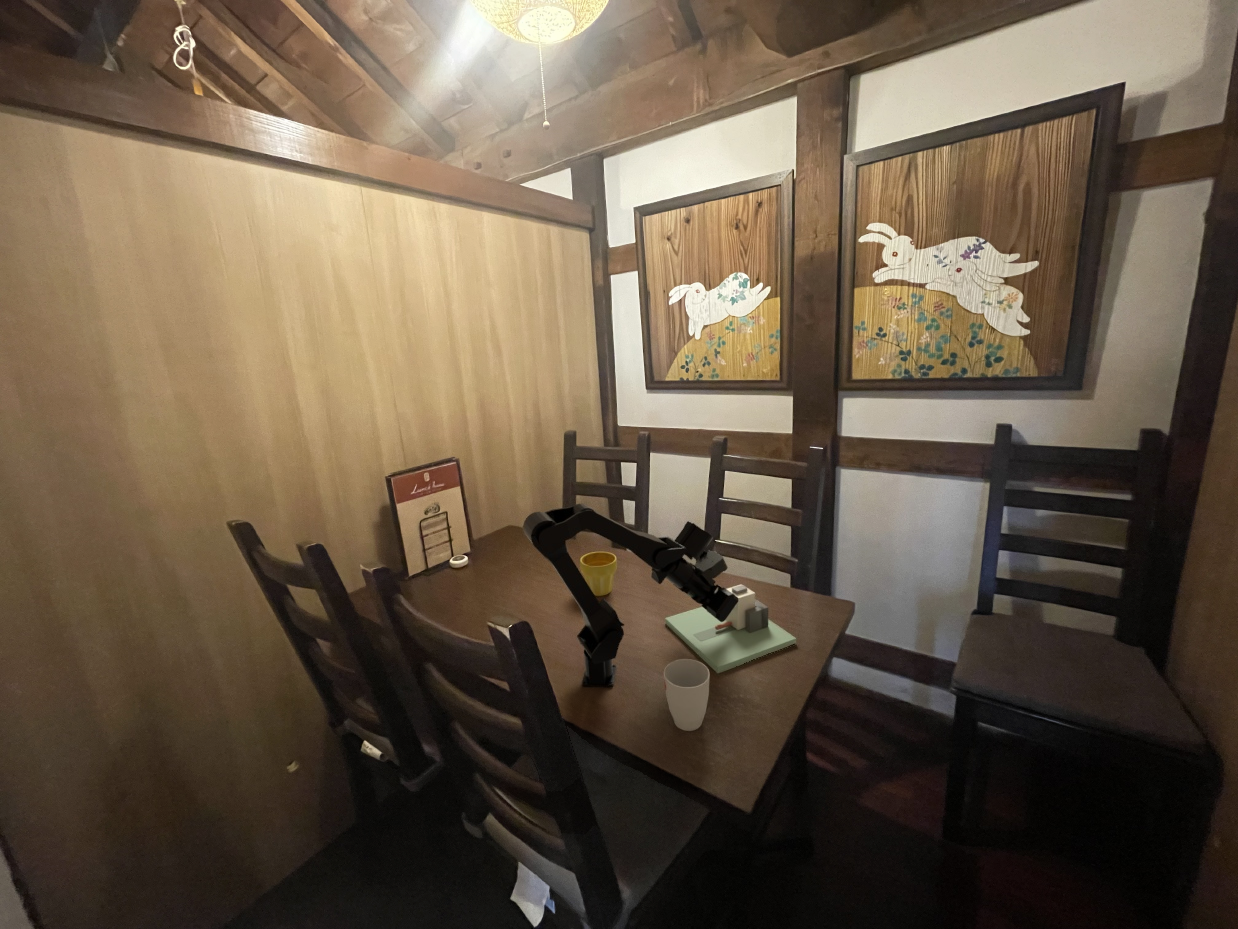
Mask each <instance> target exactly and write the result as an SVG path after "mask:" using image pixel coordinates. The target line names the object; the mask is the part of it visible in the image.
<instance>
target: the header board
mask: <svg viewBox="0 0 1238 929" xmlns="http://www.w3.org/2000/svg"><path fill="white" fill-rule="evenodd" d="M664 620H665V621H664V622H665V624H666V626H667V627H669V629H670V630H671V631H672V632H674V634H676V635H677V637H679V638H680V639H681V640H682V641H683V642H684V643H685V644H686V645H687V646H688V647H690V649H691V650H693V652H695V653H696V654H697V656H698V657H700V658H701V659H702V660H703V662H705V663H706V664H707V665H709V667H710V668H712V669H713V671H715V673H716V674H720V673H721V674H722V673H723V672H726V671H728V670H731V669H734V668H736V666H737V667H739V666H741V665H744V663H745V664H747V663H750V662H752V661H751V660H753V659H755V660H757V659H756V658H758V657H760V656H763V655H766V654H768V653H771V652H773V651H776V650H779V649H782V648H784V647H787V646H789V645H791V644H794V643H796V644H797V638H796V636H793V635H792V634H791V633H789V632H788V631H786V630H785V629H784V628H782V627H781V626H779V625H778V624H776V623H774V622H773V621H772V620H770V619H769V618H768V627H767V628H764V629H761V630H758V631H755V632H752V633H749V632H748V631H746V627H745V628H742V629H739V630H737V629H736V628H734V627H733V626H732V625H731V626H728V627H725V628H722V629H719V630H716V629H715V626H716V625H719V624H722V623H725V622H727V621H724V622H720V621H719V620H718V619H716V618H715V617H714V616H713V615H711V614H710V613H709V612H707V610H706V609H704V608H703V607H702V606H701V607H697V608H694V609H690V610H688V611H683V612H680V613H678V614H673V615H671V616H667V617H665V618H664ZM787 648H788V647H787ZM782 650H783V649H782ZM779 651H780V650H779ZM771 654H772V653H771ZM766 656H767V655H766ZM763 657H764V656H763ZM758 659H759V658H758ZM749 661H750V662H749ZM753 661H754V660H753ZM746 662H747V663H746Z"/></svg>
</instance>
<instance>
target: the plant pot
mask: <svg viewBox="0 0 1238 929" xmlns="http://www.w3.org/2000/svg"><path fill="white" fill-rule="evenodd" d="M579 567H580V568H579V569H580V573H581V574H582V575H583V578H584V579H585V581H586V582H587V584H588V585H589V587H590V589H591V590H592V592H593V593H594V595H595V597H601V596H606V595H609V594H610V593H611V592H612V590H613V584H614V578H615V573H616V571H617V567H618V559H617V556H616V555H615V554H614V553H612V552H608V551H594V552H593V551H592V552H589V553H586V554H584V555H582V556H581V557H580V559H579Z"/></svg>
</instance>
